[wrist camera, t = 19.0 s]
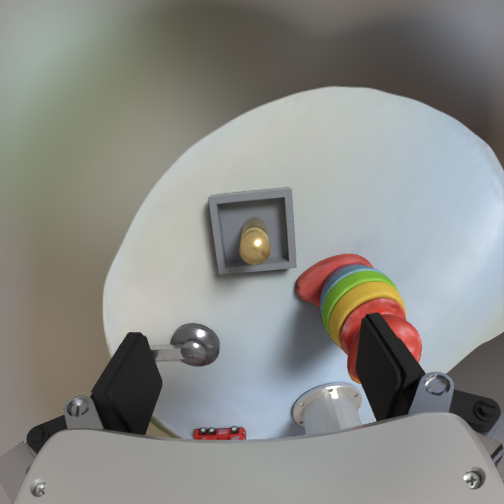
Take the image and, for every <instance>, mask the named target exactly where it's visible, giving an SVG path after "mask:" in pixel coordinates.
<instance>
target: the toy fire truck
mask: <svg viewBox="0 0 504 504" xmlns="http://www.w3.org/2000/svg"><path fill="white" fill-rule="evenodd" d="M193 437H194V439H195V440H246V431H245V430H244V429H243V428H239V429H238V428H237V427H236V426H233V427H232V428H231V429H230V428H229V429H217V430H215V428H210V429H209V430H208V431H207V429H206V428H201V429H200V430H198V429H195V430H194V435H193Z"/></svg>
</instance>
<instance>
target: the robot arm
mask: <svg viewBox="0 0 504 504" xmlns="http://www.w3.org/2000/svg"><path fill="white" fill-rule="evenodd" d="M355 368H356V373H357V375H358V377H359V380H360V382H361V384H362V387H363V389H364V391H365V394H366V396H367V399H368V401H369V403H370V406H371V408H372V411H373V413H374V416H375V418H376V421H377V422H373V423H368V424H364V425H362V423H361V420H360V417H359V415H358V412H357V411H358V409H359V408H360V406H361V403H362V397H361V394H360V392H359V390H358V389H357V388H356V387H354V386H353V385H350V384H346V383H331V384H326V385H322V386H319V387H316V388H314V389H312V390H310V391H308V392H307V393H305V394H304V395H302V396H301V397H300V398H299V399H298V400H297V402H296V403H295V405H294V407H293V417H294V420H295V421H296V422H297V423H298V424H299V425H300V426H303V427H304V429H305V435H301V436H292V437H282V438H270V439H253V440H195V439H179V438H167V437H157V436H148V435H145V434H146V431H147V428H148V425H149V422H150V419H151V416H152V414H153V411H154V408H155V405H156V402H157V399H158V397H159V394H160V391H161V388H162V378H161V376H160V373H159V371H158V368H157V365H156V363H155V360H154V357H153V355H152V352H151V349H150V346H149V343H148V340H147V338H146V336H143V334H142V333H140V332H129V333H128V334H127V335H126V337H125V338H124V340H123V341H122V343H121V345H120V346H119V348H118V349H117V351H116V352H115V354H114V355H113V357H112V359H111V360H110V362H109V364H108V365H107V367H106V368H105V370H104V371H103V373H102V375H101V376H100V378H99V379H98V381H97V383H96V384H95V386H94V388H93V389H92V391H91V392H92V395H91V396H90V397H88V396H86V395H78V396H75V397H73V398H71V399H70V400H69V401H67V403H66V404H65V406H64V415H62V416H60V417H58V418H55V419H53V420H50V421H48V422H45V423H43V424H40V425H38V426H36V427H34V428H32V429H31V430H30V431H29V433H28V435H27V442H26V443H24V441H22V442H21V443H19V444H18V445H16V446H15V447H14V448H12V449H11V450H9V451H8V452H7V453H5V454H4V455H2V456H1V457H0V482H1V484H2V486H3V488H4V490H5V491H6V493H7V496H8V497H9V499H10V501H11V503H12V504H504V415H502V414H501V412H500V407H499V405H498V404H497V403H496V402H495V401H494V400H492V399H489V398H486V397H482V396H477V395H474V394H470V393H465V392H462V391H458V390H454V383H453V381H452V379H451V378H450V377H449V376H447V375H446V374H444V373H441V372H430V373H428V374H426V373H425V372H424V370H423V369H422V368H421V366H420V365H419V363H418V362H417V360H416V359H415V358H414V356H413V355H412V353H411V352H410V351H409V349H408V348H407V346H406V345H405V344H404V342H403V341H402V340H401V339H400V338H398V337H397V336H396V334H395V333H394V332H393V330H392V329H391V328H390V326H389V325H388V323H387V322H386V321H385V319H384V318H383V317H382V315H381V314H380V313H379V312H376V313H370V314H366V315H365V318H362V320H361V327H360V336H359V344H358V351H357V358H356V365H355Z"/></svg>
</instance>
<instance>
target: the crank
mask: <svg viewBox="0 0 504 504" xmlns="http://www.w3.org/2000/svg"><path fill="white" fill-rule="evenodd" d="M150 349H151V352H152V355H153V357H154V360H179V359H186V360H187V361H189V362H193V363H198V362H201V361H203V360H204V359H205V357H206V353H207V348H206V346H205V344H204V343H203V342H201V341H199V340H197V339H188V340H186V341H184V343H183V344H177V345H160V346H150Z"/></svg>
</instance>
